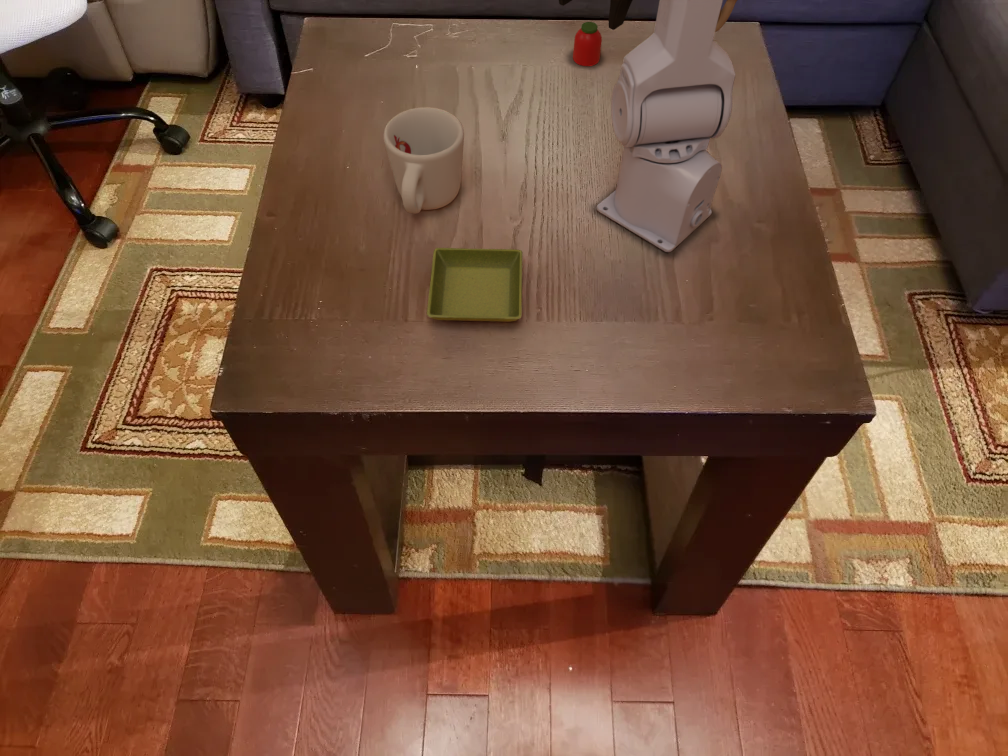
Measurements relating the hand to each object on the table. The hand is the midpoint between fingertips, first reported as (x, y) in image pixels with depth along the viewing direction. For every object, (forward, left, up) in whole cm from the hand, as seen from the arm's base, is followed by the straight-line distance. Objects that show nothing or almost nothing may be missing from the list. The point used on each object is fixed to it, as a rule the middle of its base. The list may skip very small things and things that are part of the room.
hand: (590, 13), depth 89 cm
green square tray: (-17, +38, -6) cm, 42 cm away
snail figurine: (-12, -6, -6) cm, 15 cm away
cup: (-4, +32, -6) cm, 33 cm away
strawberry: (0, 0, -6) cm, 6 cm away
